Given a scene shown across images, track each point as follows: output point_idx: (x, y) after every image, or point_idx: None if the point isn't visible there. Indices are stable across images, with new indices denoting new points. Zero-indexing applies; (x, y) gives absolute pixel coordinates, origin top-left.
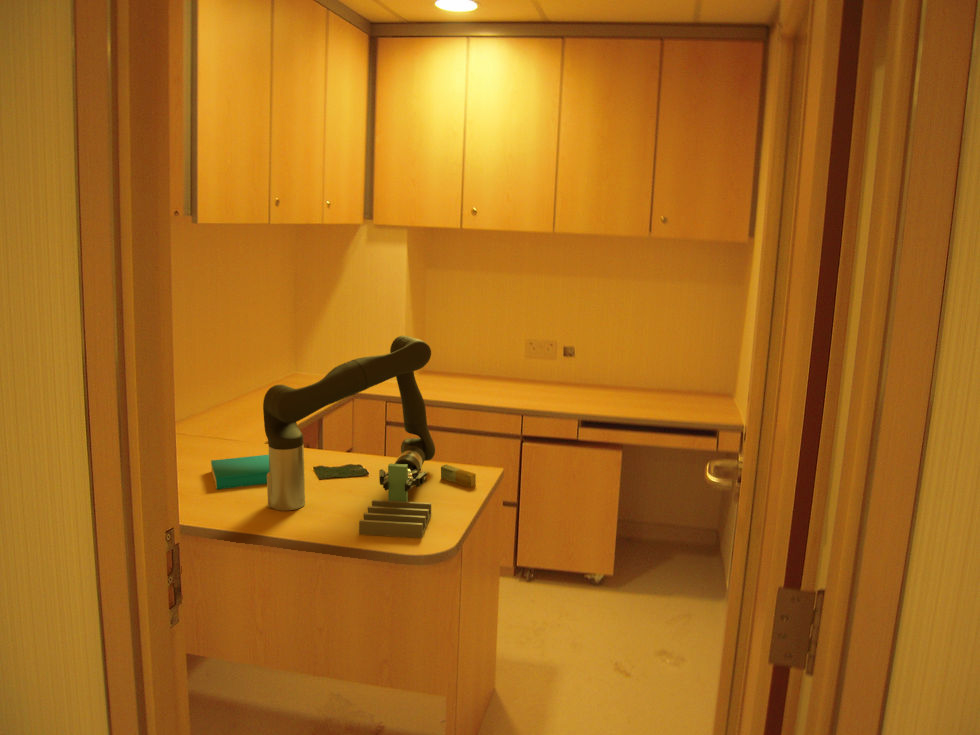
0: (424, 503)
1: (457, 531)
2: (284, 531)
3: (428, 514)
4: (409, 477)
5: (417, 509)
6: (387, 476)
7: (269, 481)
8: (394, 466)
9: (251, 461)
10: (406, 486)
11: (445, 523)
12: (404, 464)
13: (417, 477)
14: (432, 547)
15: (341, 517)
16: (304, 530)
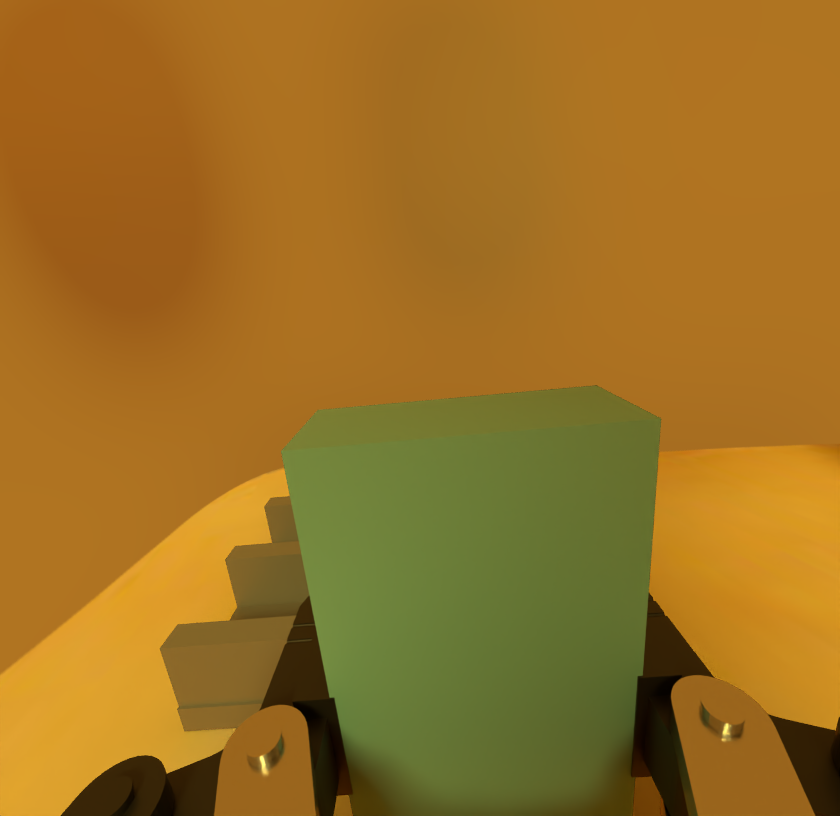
0: (222, 627)
1: (138, 570)
2: (799, 463)
3: (233, 581)
4: (287, 789)
5: (293, 547)
6: (726, 703)
7: None
8: (497, 397)
9: None
10: None
11: (149, 628)
12: (346, 441)
13: (120, 784)
14: (279, 483)
15: (751, 582)
16: (744, 477)
